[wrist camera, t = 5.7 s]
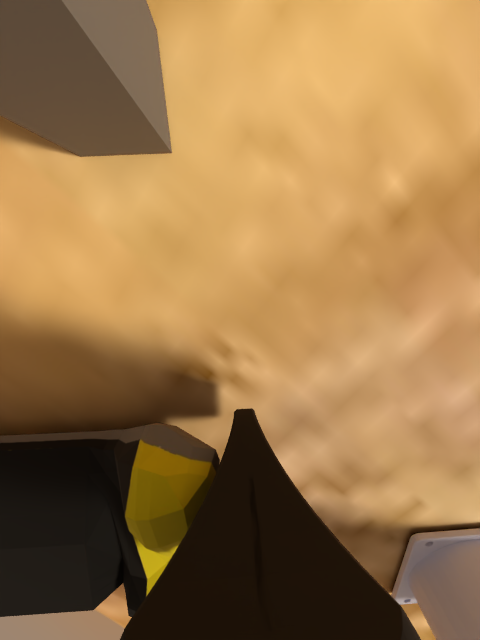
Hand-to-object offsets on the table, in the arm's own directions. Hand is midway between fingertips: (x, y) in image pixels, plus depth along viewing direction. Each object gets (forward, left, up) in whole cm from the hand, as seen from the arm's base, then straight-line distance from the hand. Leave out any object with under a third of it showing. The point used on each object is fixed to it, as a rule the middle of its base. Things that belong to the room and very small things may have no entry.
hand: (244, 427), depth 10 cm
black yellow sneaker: (+9, +3, -2) cm, 9 cm away
